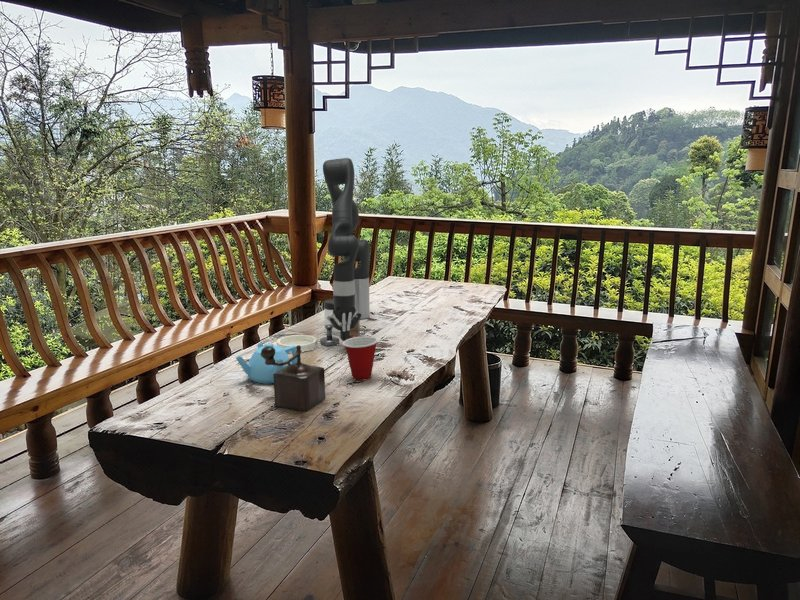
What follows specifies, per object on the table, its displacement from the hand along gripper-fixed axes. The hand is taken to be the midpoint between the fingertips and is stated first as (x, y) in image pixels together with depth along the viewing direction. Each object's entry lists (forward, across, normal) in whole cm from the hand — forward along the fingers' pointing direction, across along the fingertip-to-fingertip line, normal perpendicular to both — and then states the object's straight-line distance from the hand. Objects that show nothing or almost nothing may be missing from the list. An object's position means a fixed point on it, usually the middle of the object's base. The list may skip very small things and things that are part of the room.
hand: (344, 340), depth 212 cm
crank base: (+3, +2, -9) cm, 10 cm away
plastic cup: (+4, +9, +28) cm, 30 cm away
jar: (+3, -8, -23) cm, 25 cm away
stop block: (+3, -8, -10) cm, 13 cm away
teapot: (+4, +33, +13) cm, 36 cm away
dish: (+3, +14, -11) cm, 18 cm away
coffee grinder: (+4, +35, +38) cm, 52 cm away
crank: (+2, -1, -3) cm, 4 cm away
